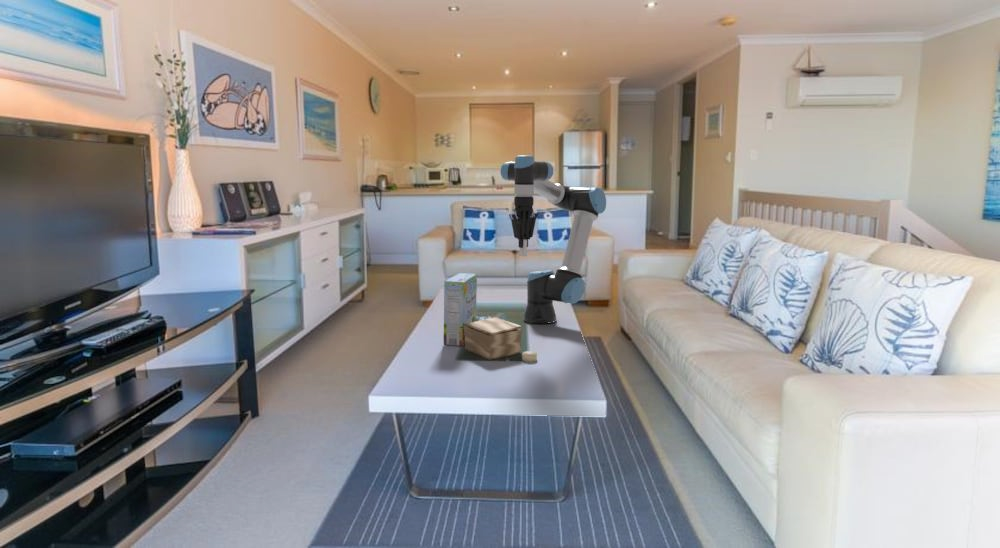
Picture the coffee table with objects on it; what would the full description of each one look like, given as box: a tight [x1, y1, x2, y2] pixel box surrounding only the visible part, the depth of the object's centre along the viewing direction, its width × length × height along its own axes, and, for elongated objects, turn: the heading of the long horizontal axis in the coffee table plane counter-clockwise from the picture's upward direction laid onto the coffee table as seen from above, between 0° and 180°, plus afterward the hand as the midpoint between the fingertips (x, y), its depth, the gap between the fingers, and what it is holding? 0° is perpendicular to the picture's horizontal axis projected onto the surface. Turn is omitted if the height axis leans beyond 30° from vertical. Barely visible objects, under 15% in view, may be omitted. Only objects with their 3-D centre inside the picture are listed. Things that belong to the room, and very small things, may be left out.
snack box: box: [443, 272, 478, 347], centre depth 230 cm, size 22×9×26 cm, turn 168°
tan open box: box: [464, 326, 522, 361], centre depth 215 cm, size 15×16×9 cm
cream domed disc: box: [521, 350, 538, 363], centre depth 206 cm, size 5×5×2 cm
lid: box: [465, 316, 522, 335], centre depth 214 cm, size 14×17×1 cm
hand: (523, 255), depth 226 cm, fingers closed
